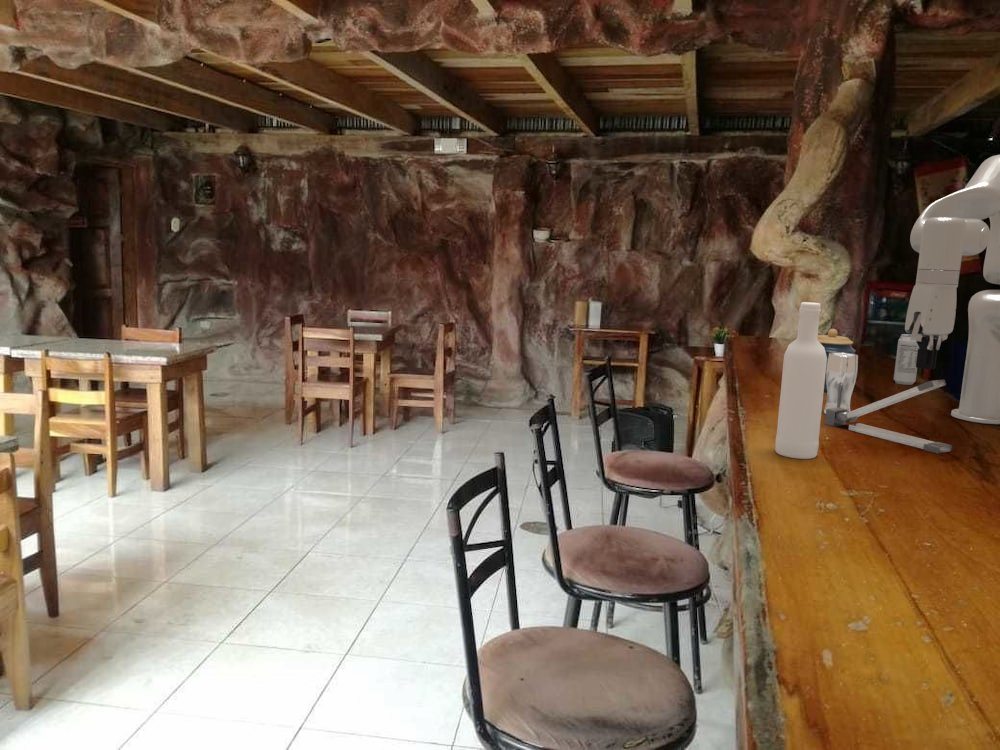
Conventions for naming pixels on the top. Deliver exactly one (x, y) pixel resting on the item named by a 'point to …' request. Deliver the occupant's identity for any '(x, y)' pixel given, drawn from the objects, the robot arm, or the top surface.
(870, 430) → the tongs base
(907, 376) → the energy drink can
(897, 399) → the upper jaw
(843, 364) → the beer glass
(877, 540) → the top surface
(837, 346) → the canister
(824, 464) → the top surface
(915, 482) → the top surface
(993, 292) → the robot arm
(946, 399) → the top surface
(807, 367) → the bottle
